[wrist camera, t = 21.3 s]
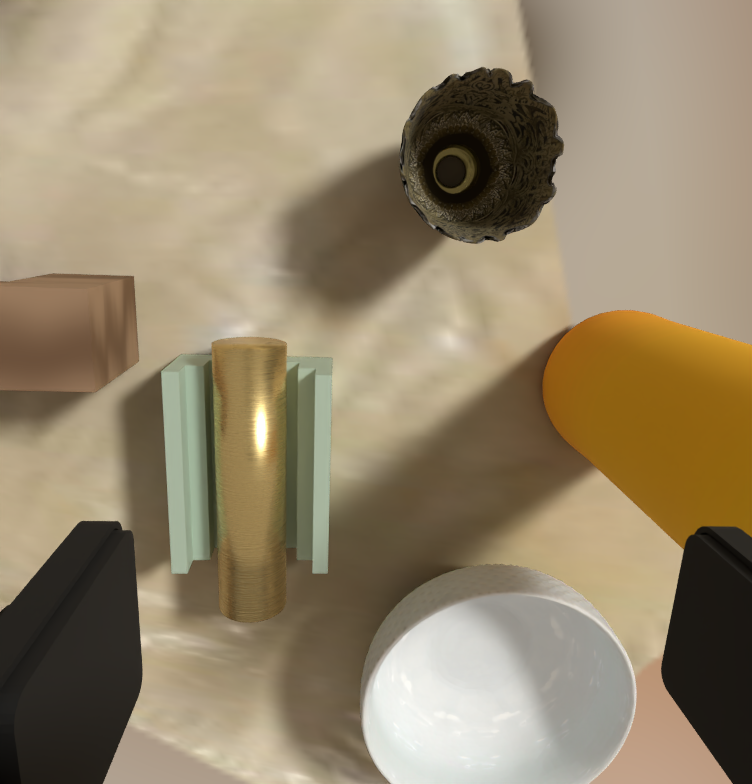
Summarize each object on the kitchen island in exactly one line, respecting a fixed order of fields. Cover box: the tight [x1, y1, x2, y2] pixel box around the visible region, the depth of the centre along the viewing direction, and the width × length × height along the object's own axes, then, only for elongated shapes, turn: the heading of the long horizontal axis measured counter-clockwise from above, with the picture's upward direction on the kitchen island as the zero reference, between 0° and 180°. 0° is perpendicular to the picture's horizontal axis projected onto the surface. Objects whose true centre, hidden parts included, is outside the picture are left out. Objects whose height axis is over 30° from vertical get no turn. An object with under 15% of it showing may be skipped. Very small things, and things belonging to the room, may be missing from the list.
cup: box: [399, 67, 564, 244], centre depth 32 cm, size 8×7×8 cm
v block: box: [161, 354, 332, 574], centre depth 37 cm, size 12×9×4 cm
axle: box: [212, 337, 287, 622], centre depth 36 cm, size 16×4×4 cm, turn 178°
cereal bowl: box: [360, 564, 636, 784], centre depth 41 cm, size 17×17×7 cm
